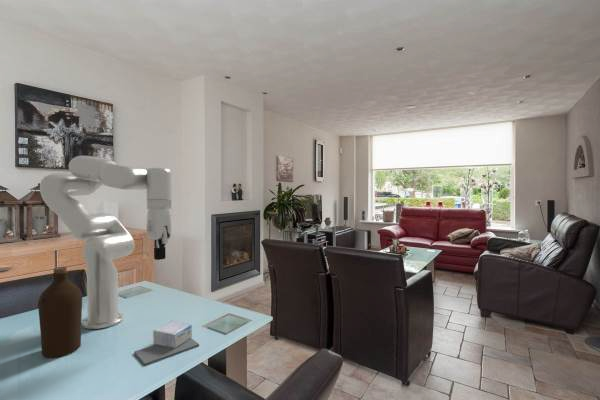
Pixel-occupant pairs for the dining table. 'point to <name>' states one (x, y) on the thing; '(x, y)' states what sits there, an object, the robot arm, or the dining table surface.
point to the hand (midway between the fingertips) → (159, 258)
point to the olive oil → (60, 316)
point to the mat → (162, 351)
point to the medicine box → (172, 334)
